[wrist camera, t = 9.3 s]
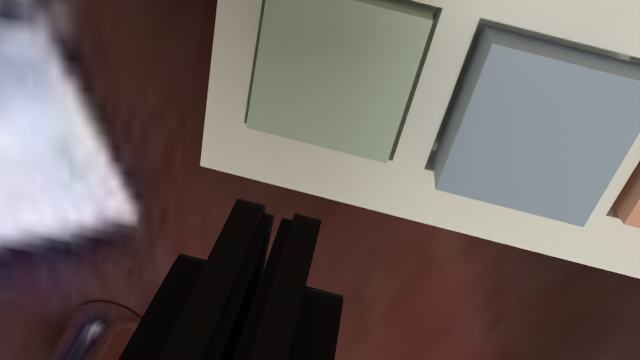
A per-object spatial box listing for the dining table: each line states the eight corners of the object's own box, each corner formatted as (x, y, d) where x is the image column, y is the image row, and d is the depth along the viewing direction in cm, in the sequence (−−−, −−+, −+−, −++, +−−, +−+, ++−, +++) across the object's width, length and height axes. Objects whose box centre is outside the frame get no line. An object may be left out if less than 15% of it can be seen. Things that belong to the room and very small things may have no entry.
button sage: (282, -33, 21) (268, -21, 19) (430, 4, 21) (433, 20, 19) (260, 104, 24) (246, 127, 22) (388, 137, 24) (387, 163, 22)
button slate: (483, 24, 20) (492, 43, 18) (639, 63, 20) (666, 87, 18) (432, 159, 23) (435, 189, 21) (567, 193, 23) (583, 227, 21)
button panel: (259, -133, 22) (231, -131, 18) (890, 26, 21) (981, 57, 18) (225, 128, 28) (200, 165, 25) (712, 253, 28) (755, 308, 24)
